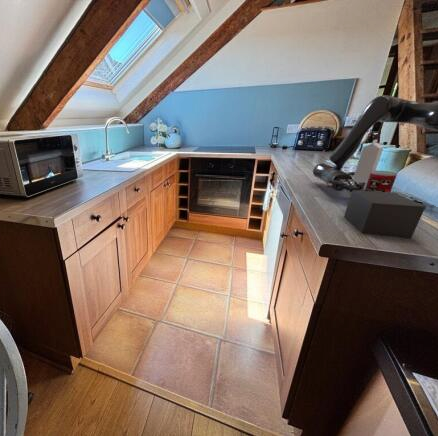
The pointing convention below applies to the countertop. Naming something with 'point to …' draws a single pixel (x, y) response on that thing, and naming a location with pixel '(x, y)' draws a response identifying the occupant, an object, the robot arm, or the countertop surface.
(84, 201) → the countertop surface
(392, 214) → the dark grey box
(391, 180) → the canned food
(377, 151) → the milk
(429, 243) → the countertop surface
